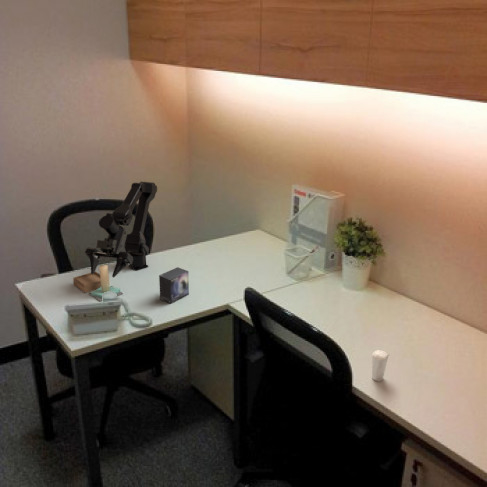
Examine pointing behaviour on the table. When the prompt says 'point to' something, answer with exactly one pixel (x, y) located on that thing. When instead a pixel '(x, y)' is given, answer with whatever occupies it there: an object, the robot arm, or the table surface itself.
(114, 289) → the lid
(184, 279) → the small box
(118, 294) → the mat
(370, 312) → the table surface
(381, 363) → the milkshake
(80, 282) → the walnut box
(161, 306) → the table surface
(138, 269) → the robot arm
